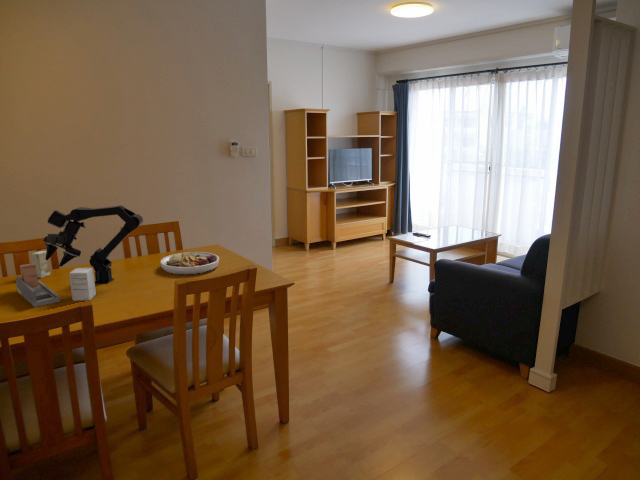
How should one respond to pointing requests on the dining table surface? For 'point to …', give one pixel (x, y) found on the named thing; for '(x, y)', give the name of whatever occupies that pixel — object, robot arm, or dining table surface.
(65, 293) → the dining table surface
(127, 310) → the dining table surface
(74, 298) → the supplement box
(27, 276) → the terracotta block
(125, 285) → the dining table surface
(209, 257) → the bowl
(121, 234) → the robot arm
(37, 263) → the skincare box
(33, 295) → the channel deck
